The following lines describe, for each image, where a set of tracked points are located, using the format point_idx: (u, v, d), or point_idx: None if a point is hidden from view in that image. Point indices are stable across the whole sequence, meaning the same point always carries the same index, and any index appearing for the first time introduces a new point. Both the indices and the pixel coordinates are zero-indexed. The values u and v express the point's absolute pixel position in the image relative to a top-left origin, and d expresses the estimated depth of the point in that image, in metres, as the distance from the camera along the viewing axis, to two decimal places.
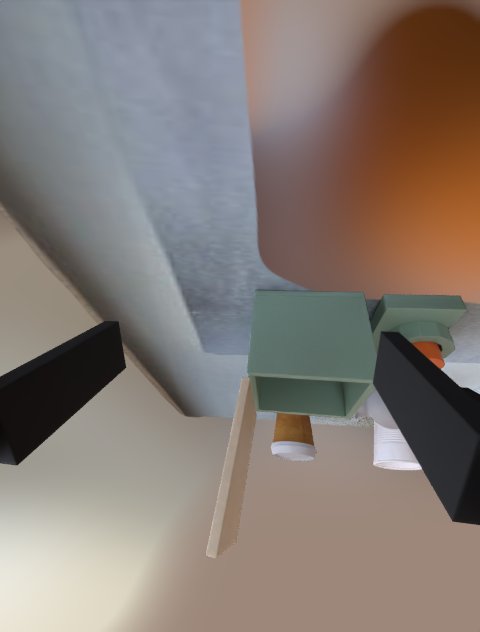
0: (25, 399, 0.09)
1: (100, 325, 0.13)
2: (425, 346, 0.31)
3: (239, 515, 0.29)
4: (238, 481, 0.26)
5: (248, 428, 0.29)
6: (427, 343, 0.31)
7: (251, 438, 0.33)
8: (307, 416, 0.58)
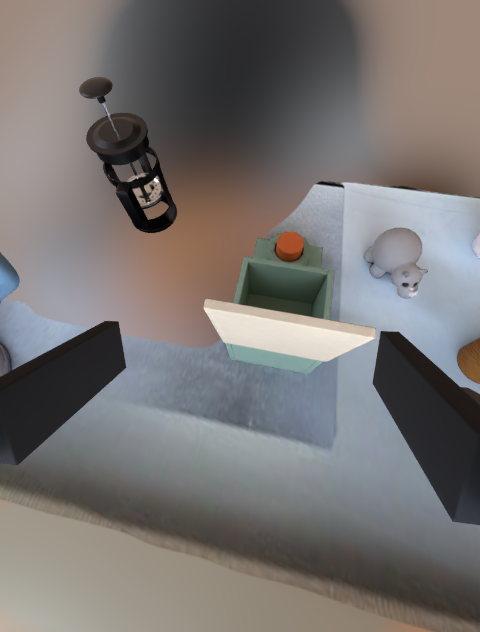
0: (25, 399, 0.09)
1: (100, 325, 0.13)
2: (276, 246, 0.46)
3: None
4: None
5: None
6: None
7: None
8: None
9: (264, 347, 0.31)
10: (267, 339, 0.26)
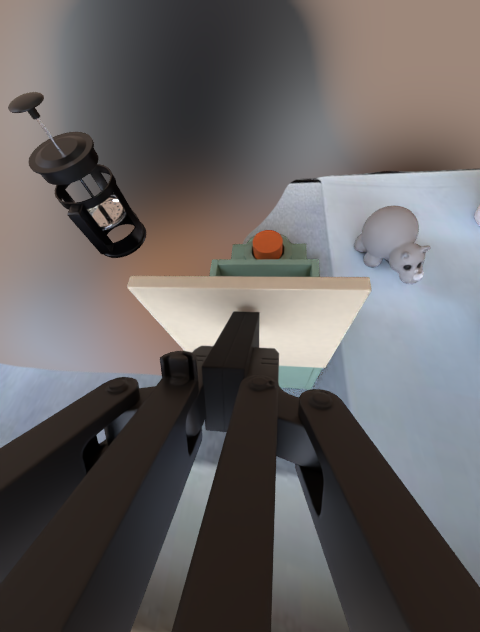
0: None
1: (235, 315, 0.15)
2: None
3: None
4: None
5: None
6: None
7: None
8: None
9: None
10: None
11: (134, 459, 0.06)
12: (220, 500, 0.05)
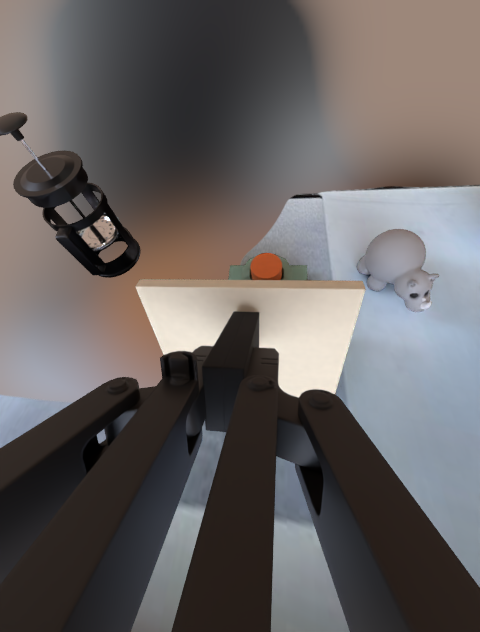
0: None
1: (235, 315, 0.15)
2: None
3: None
4: None
5: None
6: None
7: None
8: None
9: None
10: None
11: (134, 459, 0.06)
12: (220, 500, 0.05)
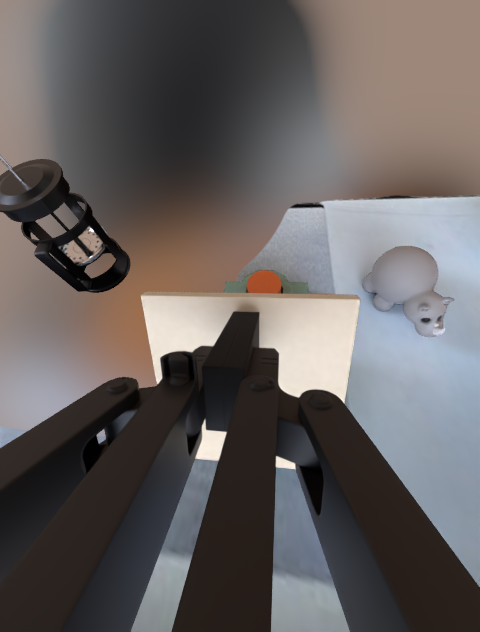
0: None
1: (235, 315, 0.15)
2: None
3: None
4: None
5: None
6: None
7: None
8: None
9: None
10: None
11: (134, 459, 0.06)
12: (220, 501, 0.05)
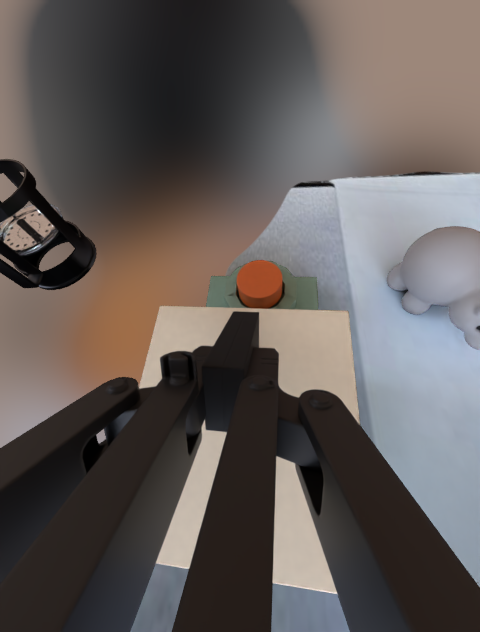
0: None
1: (235, 315, 0.15)
2: None
3: None
4: None
5: None
6: None
7: None
8: None
9: None
10: None
11: (134, 459, 0.06)
12: (220, 501, 0.05)
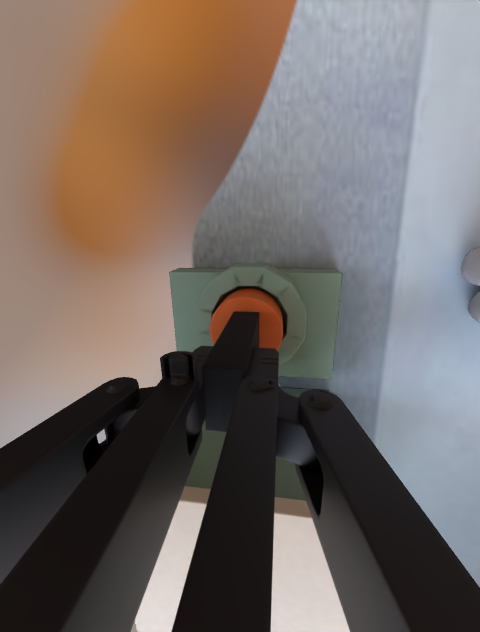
0: None
1: (235, 315, 0.15)
2: None
3: None
4: None
5: None
6: None
7: None
8: None
9: None
10: None
11: (134, 459, 0.06)
12: (220, 500, 0.05)
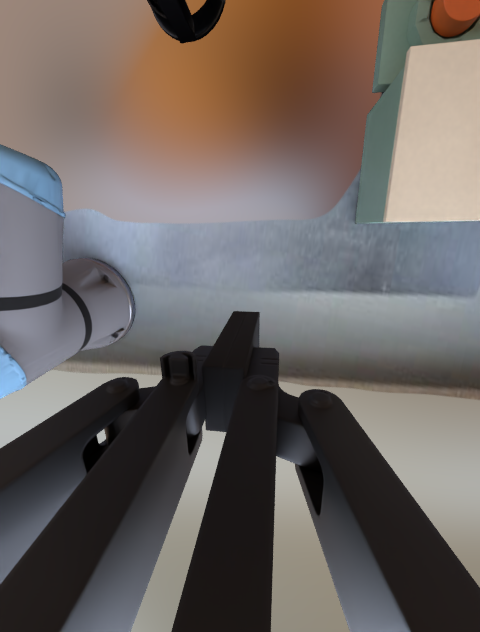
0: None
1: (235, 315, 0.15)
2: (435, 7, 0.26)
3: None
4: None
5: None
6: (433, 6, 0.26)
7: None
8: None
9: (447, 200, 0.25)
10: (461, 141, 0.23)
11: (134, 459, 0.06)
12: (220, 500, 0.05)
